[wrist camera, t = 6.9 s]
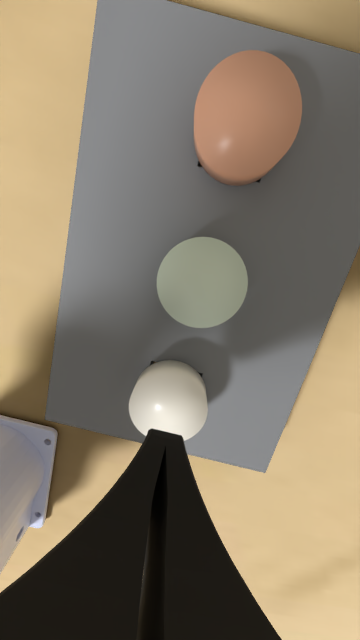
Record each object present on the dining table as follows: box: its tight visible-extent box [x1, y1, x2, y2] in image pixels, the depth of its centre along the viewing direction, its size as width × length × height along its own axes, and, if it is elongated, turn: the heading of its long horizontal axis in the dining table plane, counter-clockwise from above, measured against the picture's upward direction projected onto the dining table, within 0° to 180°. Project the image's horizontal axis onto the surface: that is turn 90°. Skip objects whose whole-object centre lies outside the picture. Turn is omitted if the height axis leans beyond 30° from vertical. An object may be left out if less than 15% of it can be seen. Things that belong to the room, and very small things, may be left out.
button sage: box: [157, 237, 248, 328], centre depth 13 cm, size 4×4×4 cm
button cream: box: [129, 360, 208, 441], centre depth 15 cm, size 4×4×4 cm
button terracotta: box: [194, 50, 302, 186], centre depth 11 cm, size 4×4×4 cm
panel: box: [45, 0, 360, 473], centre depth 14 cm, size 21×14×2 cm, turn 166°
